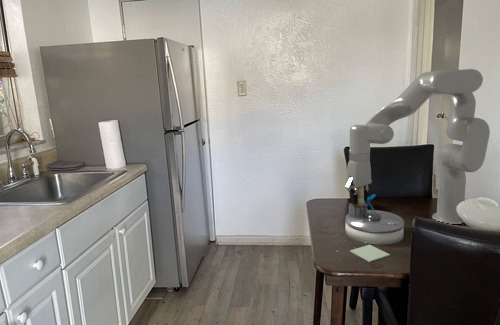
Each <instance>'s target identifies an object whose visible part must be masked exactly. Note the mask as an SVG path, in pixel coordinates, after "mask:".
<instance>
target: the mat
mask: <svg viewBox="0 0 500 325" xmlns="http://www.w3.org/2000/svg"><path fill="white" fill-rule="evenodd" d="M349 252H350V253H352V254H354V255H356V256H357V257H360V258H361V259H363V260H365V261H367V262H368V263H371V262H373V261H378V260H380V259H385V258H387V257H389V256H390V255H391V254H390V253H387V252H385V251H384V250H382V249H379V248H377V247H375V246H374V245H372V244H367V245H363V246H361V247H358V248H354V249H351V250H349Z"/></svg>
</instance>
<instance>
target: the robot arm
mask: <svg viewBox="0 0 500 325" xmlns="http://www.w3.org/2000/svg"><path fill="white" fill-rule="evenodd" d="M483 79H484V78H483V75H482V73H481V72H480V71H479V70H477V69H474V68H467V69H453V70H452V69H450V70H449V69H448V70H434V71H426V72H423V73H421V74H419V75H418V76H417V77H416V78H415V79H414V80H413V81H412V82H411V83H410V84H409V85H408V86H407V88H405V89H404V91H403V92H402V93H401V94H399V96H398V97H397V98H396V99H394V100H393V101H391V102H389V103H388V104H387V105H385V106H384V107H382V108H381V109H379V110H378V111H377V112H376V113H375V114H374V115H373V116H372V117H371V118H370V119H369V120H368V121H367V122H366V123H365V124H355V125H351V126H350V127H349V156H348V157H349V159H348V160H349V161H348V163H347V166H346V167H347V168H346V176H345V189H346V190H347V191H348V192H349V204H350V203H351V204H355V205H357V204H358V195H357V191H358V187H361V186H364V201H367V200H368V197H369V196H368V194H369V191H370V190H369V189H370V186H371V184H372V182H373V180H372V168H371V161H370V160H371V159H370V158H371V144H373V145H374V144H376V145H385V144H388V143H390V142H391V141H392V139H394V135H395V133H394V129H393V128H392V127H391V126H390V125H391V124H392V123H394V122H396V121H398V120H402V119H404V118H407V117H410V116H412V115H413V114H415V113H416V112H417V111H418V110H419V109H420V108H421V107H422V106H423V104H424V103H426V101H428V99H430V97H432V95H433V96H435V95H447V97H448V99H449V105H450V107H449V114H448V117H447V124H446V129H445V130H446V131H445V133H446V136H447V137H448V138H449V139H450V140H453V141H458V142H462V144H459V143H447V144H444V145H442V146H441V147H440V148H439V150H438V151H437V163H438V187H437V191H438V192H437V201H436V202H437V203H436V204H437V205H436V212H435V213H433V214H432V217H431V218H432V219H433V220H434V219H435V220H436V221H435V220H434V221H435V222H437V221H440V222H444V223H449V224H448V225H450V224H461V223H462V221H461V220H460V218H459V217H458V215H457V212H456V206H457V205H458V204H459V203H460V202H462V201H464V202H465V196H466V186H467V185H466V184H467V177H466V176H467V175H466V173H474V172H477V171H478V170H480V169H481V167H482V166H483V164H484V162H485V159H486V154H487V149H488V144H489V141H490V140H489V139H490V134H491V133H490V132H491V131H490V130H491V129H490V125H489V123H488V122H487V121H486V120H485V119H483V118H479V117H475V115H476V114H475V113H476V104H477V102H476V97H475V95H474V92H476V91H478V90H479V89H480V88H481V86H482V85H483V81H484V80H483ZM353 185H354V186H353ZM353 188H355V190H353ZM440 222H439V223H440ZM444 223H443V224H444Z"/></svg>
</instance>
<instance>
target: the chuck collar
mask: <svg viewBox="0 0 500 325" xmlns="http://www.w3.org/2000/svg"><path fill="white" fill-rule="evenodd" d="M346 224H347V225H348V226H350V227H352V228H354V229H356V230H360V231H364V232H370V233H392V232H396V231H399V230H401V229H402V228H403V227H404V228H405V221H404V218H402V216H400V215H398V214H395V213H393V212H389V211H384V210H376V209H374V210H372V209H368V205H367V204H365V203H364V206H363V207H355V206H353V204H351V203H350V202H349V204H348V213H347V214H346V215H345V225H346Z"/></svg>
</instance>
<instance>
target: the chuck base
mask: <svg viewBox="0 0 500 325" xmlns="http://www.w3.org/2000/svg"><path fill="white" fill-rule="evenodd" d="M344 227H345V229H344V230H345V234H346V236H347V237H348V238H350V239H352V240H354V241H356V242H360V243H363V244H367V245H378V246H379V245H392V244H395V243H396V244H397V243H398V242H400V241H402V240H403V239H404V230H405V229H404V228H405V226H404V227H403V228H402V229H401V230H399V231H396V232H392V233H370V232H364V231H360V230H356V229H354V228H352V227H350V226H348V225H347V224H346V223H345V226H344Z"/></svg>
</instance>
